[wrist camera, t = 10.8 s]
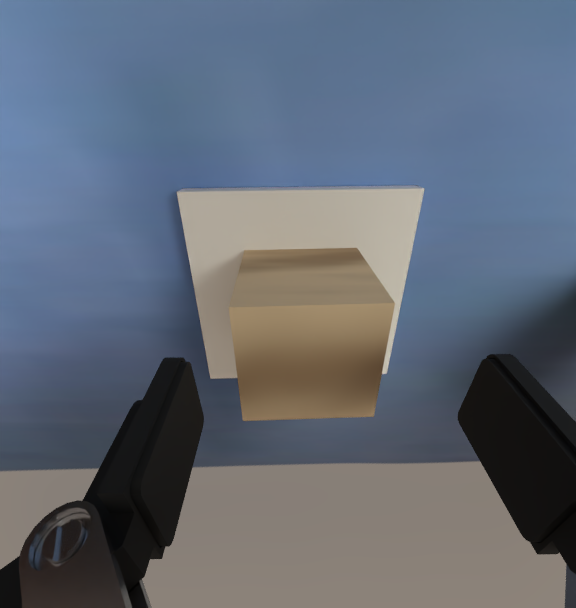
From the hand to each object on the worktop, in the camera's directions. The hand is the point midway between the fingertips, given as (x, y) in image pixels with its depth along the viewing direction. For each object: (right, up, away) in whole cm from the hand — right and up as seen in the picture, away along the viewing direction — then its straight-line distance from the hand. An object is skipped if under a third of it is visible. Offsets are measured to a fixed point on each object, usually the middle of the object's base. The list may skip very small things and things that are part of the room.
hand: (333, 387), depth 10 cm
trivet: (-1, +4, +8) cm, 9 cm away
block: (-1, +3, +8) cm, 8 cm away
